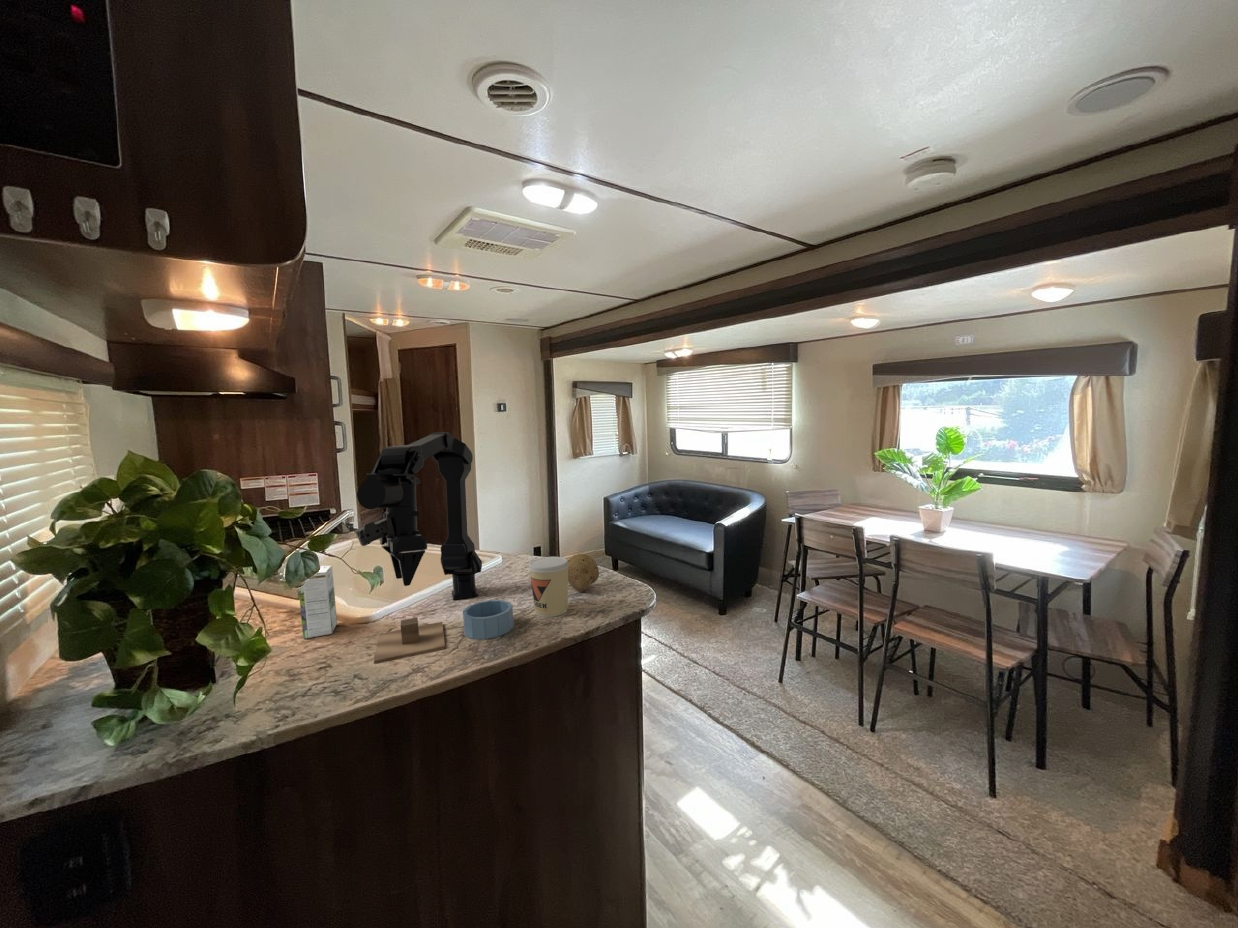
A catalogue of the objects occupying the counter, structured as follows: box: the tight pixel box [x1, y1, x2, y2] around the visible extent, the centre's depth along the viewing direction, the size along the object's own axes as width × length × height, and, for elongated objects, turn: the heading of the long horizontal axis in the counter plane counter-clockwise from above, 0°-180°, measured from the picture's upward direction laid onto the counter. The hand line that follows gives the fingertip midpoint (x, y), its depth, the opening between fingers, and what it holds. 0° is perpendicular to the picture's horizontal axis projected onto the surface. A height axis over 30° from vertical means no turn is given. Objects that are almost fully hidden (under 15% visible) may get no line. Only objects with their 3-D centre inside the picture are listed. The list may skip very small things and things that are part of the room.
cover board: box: [373, 616, 446, 664], centre depth 101 cm, size 13×13×5 cm
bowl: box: [462, 599, 515, 640], centre depth 106 cm, size 10×10×4 cm
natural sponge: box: [567, 553, 600, 593], centre depth 127 cm, size 9×9×10 cm
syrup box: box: [298, 565, 338, 639], centre depth 108 cm, size 6×6×14 cm
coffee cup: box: [528, 556, 569, 618], centre depth 114 cm, size 9×9×12 cm
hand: (402, 581), depth 99 cm, fingers open, 9 cm apart
